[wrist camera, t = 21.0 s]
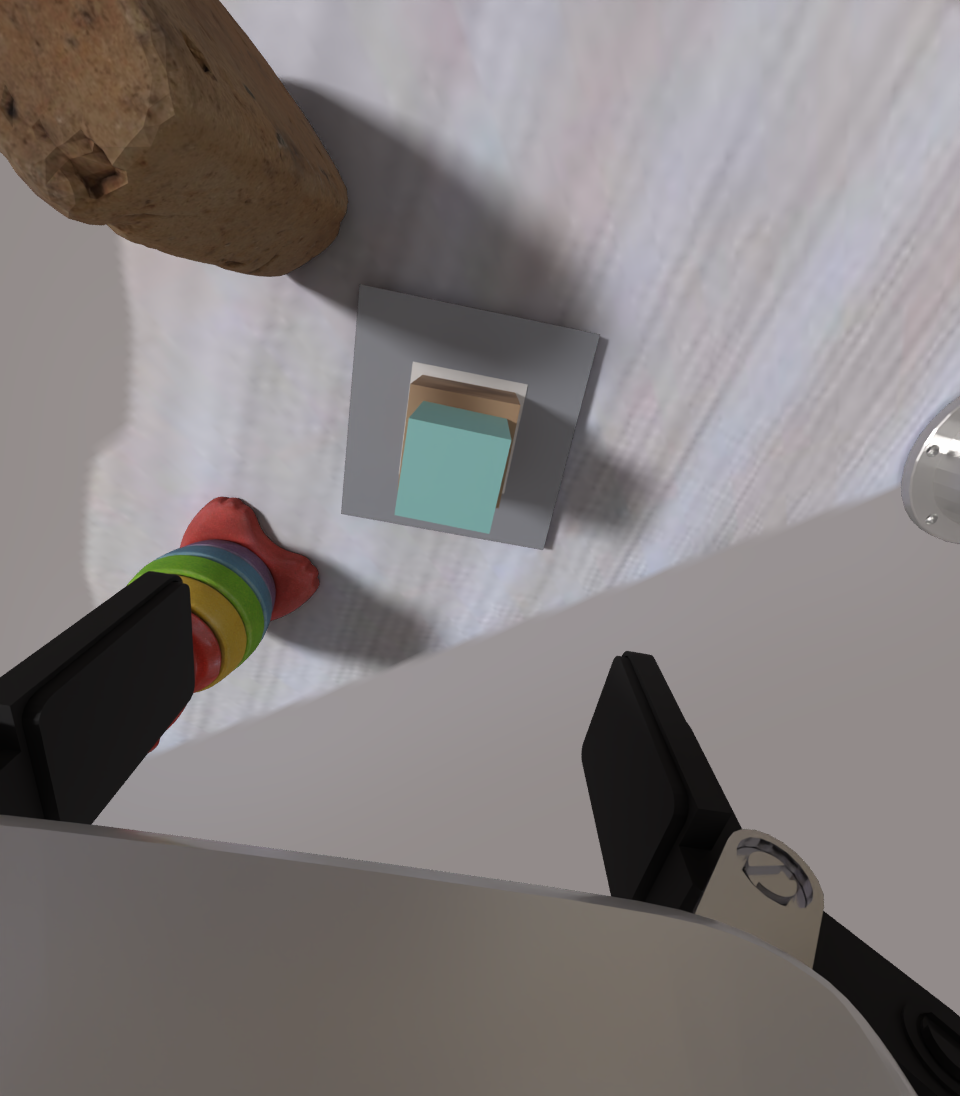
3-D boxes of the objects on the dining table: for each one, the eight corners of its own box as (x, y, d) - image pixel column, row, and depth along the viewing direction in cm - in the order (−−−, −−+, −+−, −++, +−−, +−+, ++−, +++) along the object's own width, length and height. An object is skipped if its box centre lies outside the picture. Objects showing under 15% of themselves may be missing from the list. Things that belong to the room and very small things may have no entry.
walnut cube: (515, 392, 35) (520, 405, 29) (497, 481, 37) (498, 508, 32) (422, 374, 34) (410, 383, 29) (410, 465, 37) (397, 490, 31)
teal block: (506, 418, 30) (511, 440, 24) (489, 497, 32) (489, 533, 26) (423, 400, 29) (408, 417, 24) (410, 481, 31) (394, 514, 26)
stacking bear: (331, 577, 42) (233, 735, 26) (256, 643, 45) (125, 824, 29) (226, 484, 39) (39, 598, 23) (152, 562, 42) (-61, 713, 25)
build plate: (597, 334, 34) (600, 334, 33) (541, 545, 41) (543, 550, 40) (363, 285, 33) (359, 284, 32) (344, 509, 40) (340, 514, 39)
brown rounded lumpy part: (373, 229, 32) (221, 101, 14) (281, 294, 34) (33, 257, 15) (264, 32, 28) (-148, -509, 10) (165, 116, 30) (-346, -217, 11)
